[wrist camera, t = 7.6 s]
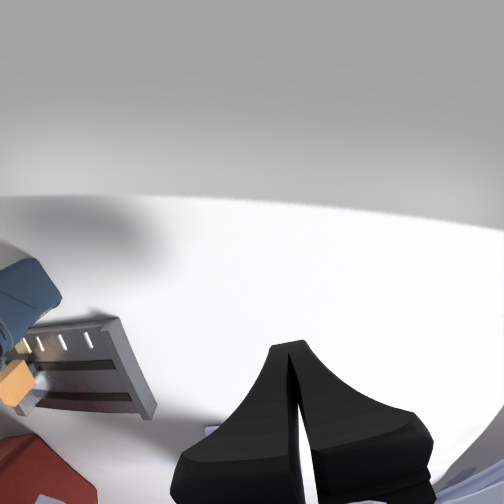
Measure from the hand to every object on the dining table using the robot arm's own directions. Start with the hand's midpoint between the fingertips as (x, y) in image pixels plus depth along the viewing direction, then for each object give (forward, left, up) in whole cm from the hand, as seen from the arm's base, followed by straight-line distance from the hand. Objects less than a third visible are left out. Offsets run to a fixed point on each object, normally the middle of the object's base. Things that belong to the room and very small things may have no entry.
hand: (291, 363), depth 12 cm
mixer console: (-6, +22, -10) cm, 24 cm away
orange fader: (-5, +25, -9) cm, 27 cm away
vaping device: (+3, +19, -10) cm, 22 cm away
